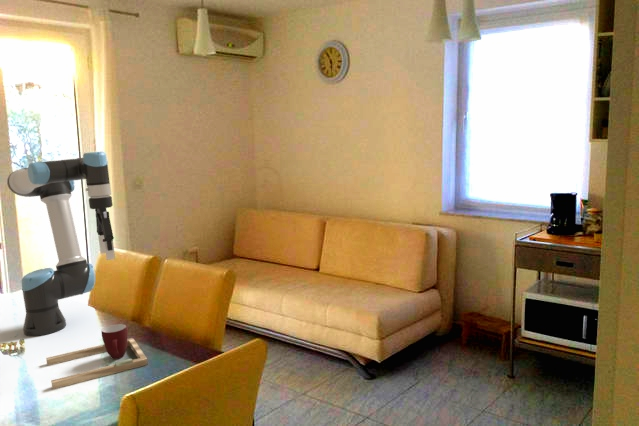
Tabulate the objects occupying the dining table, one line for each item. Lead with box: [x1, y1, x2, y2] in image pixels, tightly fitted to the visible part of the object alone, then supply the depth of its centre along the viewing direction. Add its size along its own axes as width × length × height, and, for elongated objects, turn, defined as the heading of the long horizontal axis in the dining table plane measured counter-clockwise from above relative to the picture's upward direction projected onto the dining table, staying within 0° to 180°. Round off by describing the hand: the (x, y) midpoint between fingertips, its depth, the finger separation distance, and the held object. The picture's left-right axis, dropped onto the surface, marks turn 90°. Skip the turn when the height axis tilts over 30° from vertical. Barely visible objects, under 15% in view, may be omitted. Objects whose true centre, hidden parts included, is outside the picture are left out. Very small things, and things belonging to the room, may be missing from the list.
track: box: [45, 337, 149, 390], centre depth 184 cm, size 23×28×3 cm
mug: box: [101, 323, 129, 360], centre depth 187 cm, size 11×8×10 cm
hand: (107, 256), depth 199 cm, fingers open, 13 cm apart
